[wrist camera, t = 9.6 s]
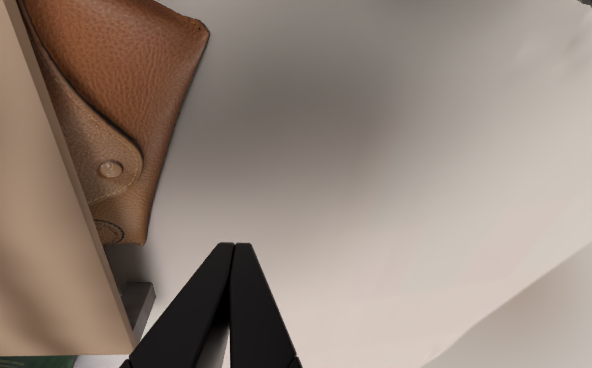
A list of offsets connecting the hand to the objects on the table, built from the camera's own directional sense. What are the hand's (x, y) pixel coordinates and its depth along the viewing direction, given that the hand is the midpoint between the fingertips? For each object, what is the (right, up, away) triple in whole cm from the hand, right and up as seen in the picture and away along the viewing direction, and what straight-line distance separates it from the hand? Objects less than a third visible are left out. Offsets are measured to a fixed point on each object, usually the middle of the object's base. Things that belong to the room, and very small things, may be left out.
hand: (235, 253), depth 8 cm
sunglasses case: (-10, +5, +11) cm, 16 cm away
